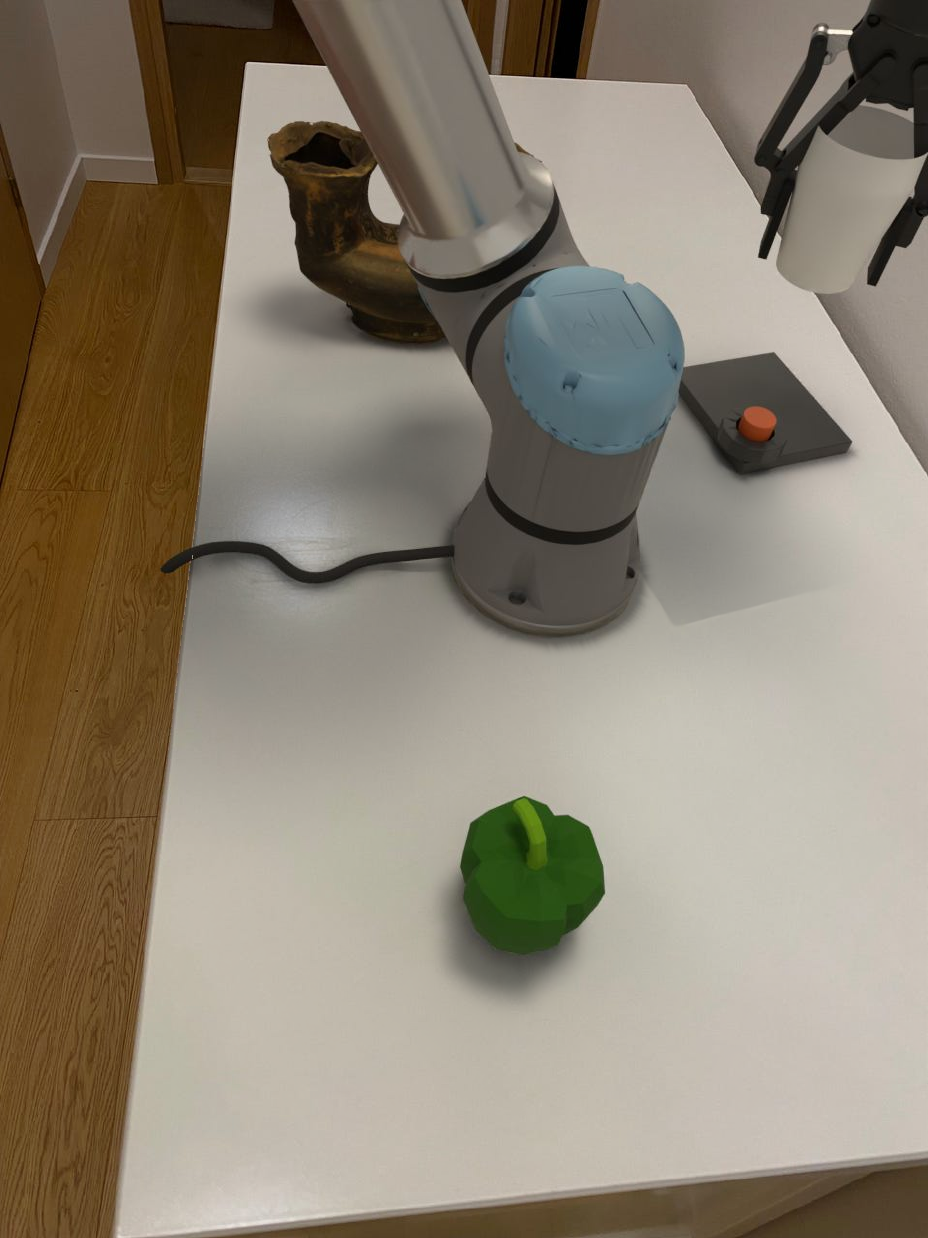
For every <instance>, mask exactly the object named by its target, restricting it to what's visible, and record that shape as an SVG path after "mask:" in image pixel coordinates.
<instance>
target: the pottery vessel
mask: <svg viewBox="0 0 928 1238" xmlns="http://www.w3.org/2000/svg"><path fill="white" fill-rule="evenodd" d="M266 141H267V147H268V150H269V152H270V154H269V157H270V161H271V166H272V168H273V169H274V170H275V171H276V172H277V173H278V175H280V176H281V177H282V178H283V180H284V183H285V185H286V187H287V188H286V189H287V192H288V201H289V202H288V204H289V205H288V206H289V212H290V213H289V214H290V216H291V219H292V220H293V221H294V223H295V224H294V225H295V236H294V241H293V243H294V245H295V250H296V255H297V261H298V267H299V271H300V273H301V274H302V275H303V277H305V278H306V279H307V280H308V281H309V282H311V283H312V284H313V285H314V286H315V287H317V288H318V289H320V290H321V291H323V292H325V293H327V294H328V295H331V296H333V297H334V298H337V299H339V300H341V301H342V302H344V303H345V307H346V308H347V309H349V310H350V312H351V315H352V316H351V318H350V320H351V323H352V324H353V325H354V326H355V327H356V328H357V329H359V330H360V331H363V332H364V333H365V334H367V335H369V336H370V337H373V338H375V339H378V340H382V341H385V342H388V343H394V344H401V345H428V344H433V343H437V342H439V341H441V340H444V339H447V337H446V335H445V334H444V332H443V330H442V328H441V326H440V325H439V323H438V321H437V320H436V319H435V318H434V316H433V315H432V314H431V312H430V311H429V309H428V307H427V306H426V304H425V302H424V301H423V299H422V297H421V294H420V292H419V289H418V284H417V283H416V281H415V279H414V277H413V275H412V273H411V272H410V270H409V268H408V266H407V264H406V263H405V261H404V259H403V257H402V255H401V253H400V250H399V247H398V230H399V225H400V223H398V224H397V223H391V222H390V223H389V222H384V221H382V220H380V219H379V218H378V217H377V216H376V215H375V214H374V212H373V211H372V208H371V205H370V200H369V186H370V180H371V177H372V174H373V172H374V170H376V168H377V167H378V163H377V161H376V159H375V157H374V156H373V154H372V152H371V150H370V148H369V146H368V144H367V142H366V140H365V138H364V137H363V135H362V133H361V131H360V130H356V129H355V130H354V129H353V128H350V127H349V126H347V125H341V124H339V123H338V122H332V121H327V120H320V121H316V122H310V121H304V120H303V121H302V120H298V121H293V122H288V123H287V124H285V125H284V126H282V127H281V128H280V130H279V131H277V132H274V133H271V134H270V135H269V136H268V137H267V140H266ZM514 143H515V146H516V148H517V151H518V152H522V153H525V154H528V155H531V156H533V157H534V158H536V157H535V156H534V155H533V154H531V153H530V152H528V151H527V150H525V149H524V148H523V147H522V146H521V145H520V144H518V142H515V141H514ZM538 160H539V161H540V162H541V163H543V161H542V160H540V159H538Z"/></svg>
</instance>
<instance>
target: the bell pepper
mask: <svg viewBox="0 0 928 1238" xmlns="http://www.w3.org/2000/svg"><path fill="white" fill-rule="evenodd" d="M459 869H460V872H461V876H462V879H463V882H464V884H465V886H464V891H463V896H462V901H463V903H464V906H465V908H466V911H467V914H468V916H469V919H470V922H471V923H472V926H473V928H474V930H475V932H476V933H478V934H479V935H480V936H481V937H482V938H483V939H484V940H485V941H486V942H487V943H488V944H490V946H491V947H492V948H493V949H495V950H496V951H501V952H506V953H511V954H517V955H521V956H525V955H530V954H533V953H539V952H543V951H547V950H551V949H553V948H555V947H557V946H558V945H559V943H560V941H561V939H562V938H563V936H564V935H567V934H569V933H571V932H573V931H574V930H576V929H578V928H579V927H580V926H581V925H582V924H583V923H584V921H585V920H587V918H588V917H589V916H590V915H591V913H593V911H594V910H595V909H596V908H597V907H598V906H599V904H600V902H601V901H602V899H603V898H604V896H605V894H606V885H605V872H604V864H603V861H602V858H601V855H600V852H599V850H598V847H597V843H596V841H595V838H594V834H593V832H592V829H591V828H590V826H589V825H587V824H586V823H584V822H582V821H580V820H578V819H577V818H574V817H573V816H571V815H569V814H560V815H559V814H558V815H557V814H556V815H555V814H554V812H553V811H552V810H551V808H550V807H549V806H548V804H546V803H543V802H542V801H538V800H536V799H533V798H531V797H528V796H526V795H523V796H519V797H516V798H514V799H512V800H510V801H507V802H505V803H503V804H501V805H498V806H496V807H494V808H491V809H488V810H487V811H486V812H484V813H483V814H481V815H480V816H478V817H476V818H475V819H474V820H472V821H471V822H470V823H469V827H468V831H467V834H466V839H465V842H464V846H463V849H462V852H461V859H460V863H459Z"/></svg>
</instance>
